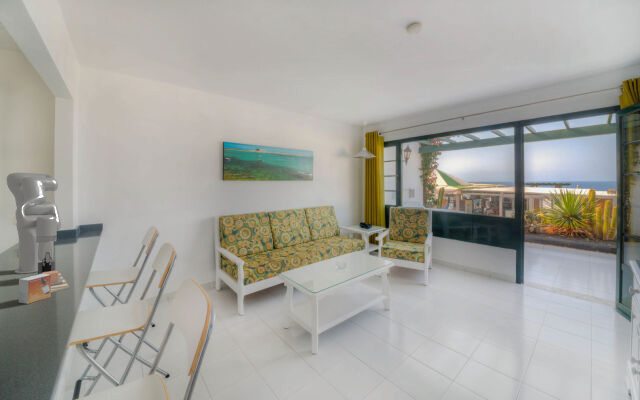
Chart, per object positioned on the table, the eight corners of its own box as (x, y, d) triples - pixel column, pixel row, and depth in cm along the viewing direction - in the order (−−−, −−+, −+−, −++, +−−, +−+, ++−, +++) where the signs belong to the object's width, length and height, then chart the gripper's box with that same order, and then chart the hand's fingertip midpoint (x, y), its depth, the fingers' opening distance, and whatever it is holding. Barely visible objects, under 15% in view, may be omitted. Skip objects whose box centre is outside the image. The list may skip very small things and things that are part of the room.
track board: (29, 278, 134) (29, 276, 134) (59, 273, 142) (59, 271, 142) (35, 295, 114) (35, 293, 114) (69, 288, 123) (69, 286, 123)
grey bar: (34, 277, 132) (34, 262, 132) (56, 273, 139) (56, 260, 138) (39, 288, 119) (39, 272, 119) (62, 283, 125) (62, 268, 125)
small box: (27, 304, 105) (27, 280, 105) (18, 302, 106) (18, 279, 106) (51, 296, 113) (51, 274, 113) (42, 295, 114) (42, 273, 114)
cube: (42, 282, 124) (42, 272, 124) (56, 279, 128) (56, 270, 128) (43, 284, 121) (43, 274, 121) (58, 282, 125) (58, 272, 125)
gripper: (34, 237, 136) (34, 270, 136) (37, 242, 126) (37, 277, 127) (54, 235, 142) (54, 267, 142) (58, 240, 132) (58, 273, 133)
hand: (46, 271), depth 134 cm, fingers closed on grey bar, 2 cm apart
